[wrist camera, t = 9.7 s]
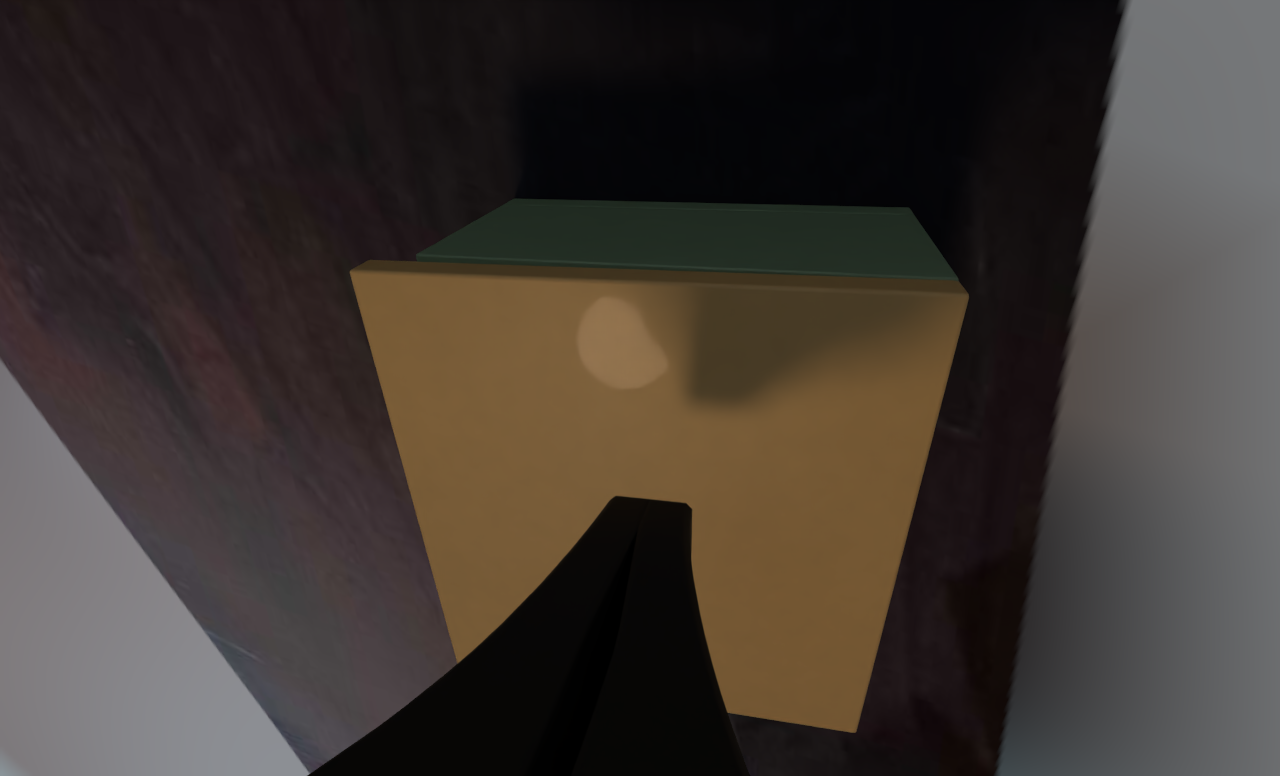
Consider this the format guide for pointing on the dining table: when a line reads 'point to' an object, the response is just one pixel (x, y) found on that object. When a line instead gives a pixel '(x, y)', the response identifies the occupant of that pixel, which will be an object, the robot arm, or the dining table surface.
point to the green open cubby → (699, 239)
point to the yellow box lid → (673, 445)
